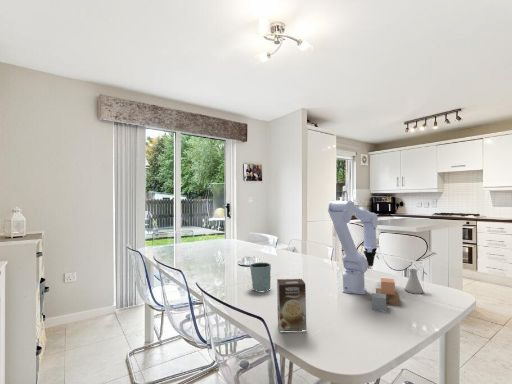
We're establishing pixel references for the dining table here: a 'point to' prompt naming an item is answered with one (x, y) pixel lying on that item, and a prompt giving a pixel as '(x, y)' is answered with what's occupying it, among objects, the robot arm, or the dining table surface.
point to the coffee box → (291, 304)
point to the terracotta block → (387, 286)
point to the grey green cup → (260, 276)
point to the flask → (413, 283)
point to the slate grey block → (379, 302)
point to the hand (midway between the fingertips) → (370, 264)
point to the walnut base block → (390, 297)
